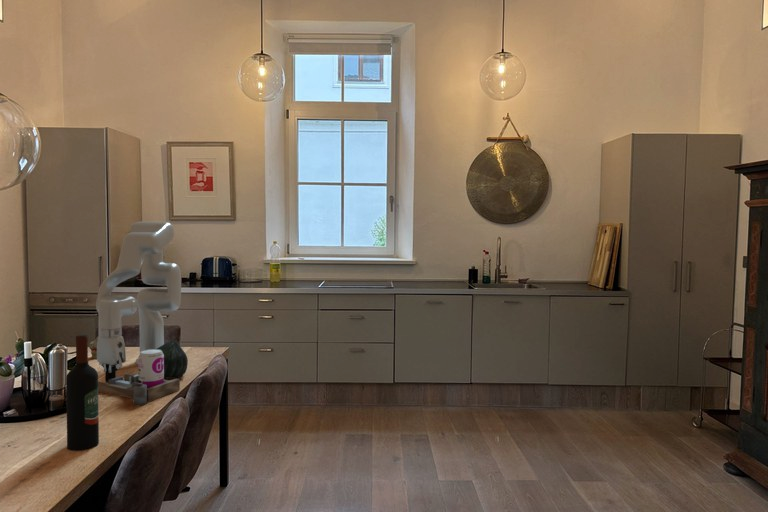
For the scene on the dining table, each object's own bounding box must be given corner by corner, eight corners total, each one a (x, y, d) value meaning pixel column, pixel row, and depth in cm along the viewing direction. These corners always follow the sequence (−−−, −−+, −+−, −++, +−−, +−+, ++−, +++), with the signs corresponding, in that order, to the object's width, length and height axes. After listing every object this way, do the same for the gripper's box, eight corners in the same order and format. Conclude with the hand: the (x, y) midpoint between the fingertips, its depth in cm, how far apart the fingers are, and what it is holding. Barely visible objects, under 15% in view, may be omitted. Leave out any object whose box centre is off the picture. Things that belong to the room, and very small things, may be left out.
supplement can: (169, 391, 195) (168, 350, 194) (150, 398, 188) (150, 355, 187) (151, 388, 198) (151, 347, 198) (133, 395, 191) (133, 352, 190)
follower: (125, 381, 205) (125, 365, 205) (154, 386, 200) (154, 370, 199) (102, 388, 196) (102, 372, 196) (132, 394, 190) (131, 377, 190)
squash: (133, 364, 210) (153, 338, 205) (164, 357, 224) (183, 332, 219) (152, 393, 206) (173, 367, 201) (183, 384, 219) (202, 359, 215)
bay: (127, 380, 208) (127, 357, 207) (182, 390, 197) (182, 366, 197) (82, 394, 190) (82, 369, 190) (139, 406, 180) (139, 379, 179)
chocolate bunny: (97, 355, 244) (97, 332, 243) (112, 356, 242) (112, 334, 241) (87, 358, 239) (87, 335, 238) (102, 359, 237) (102, 336, 236)
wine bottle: (75, 439, 152) (73, 332, 150) (103, 439, 153) (102, 332, 151) (61, 451, 145) (59, 338, 143) (91, 450, 145) (90, 338, 143)
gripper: (133, 333, 201) (134, 382, 202) (104, 328, 207) (105, 376, 208) (116, 336, 194) (116, 387, 195) (86, 332, 200) (87, 382, 201)
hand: (110, 382), depth 201 cm, fingers closed
